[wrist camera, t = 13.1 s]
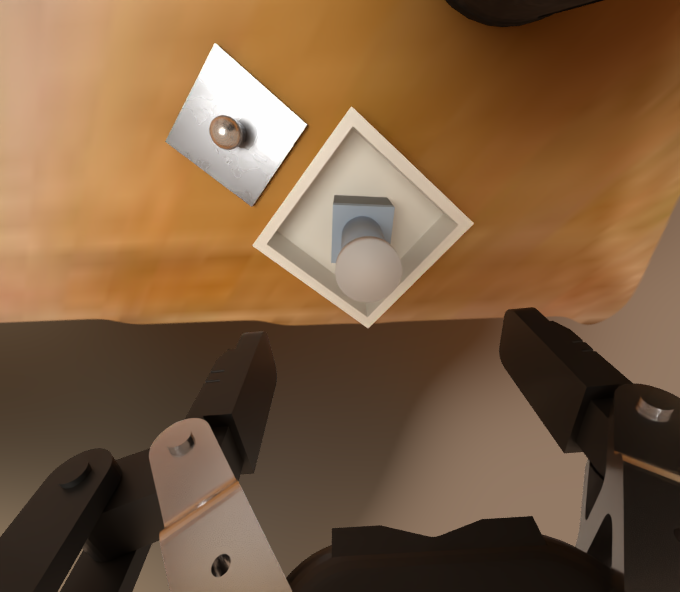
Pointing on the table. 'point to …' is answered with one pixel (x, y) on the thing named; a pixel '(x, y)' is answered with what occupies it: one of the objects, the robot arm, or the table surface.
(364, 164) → the parts tray
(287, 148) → the stud mount
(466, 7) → the bucket
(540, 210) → the table surface
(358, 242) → the knob
